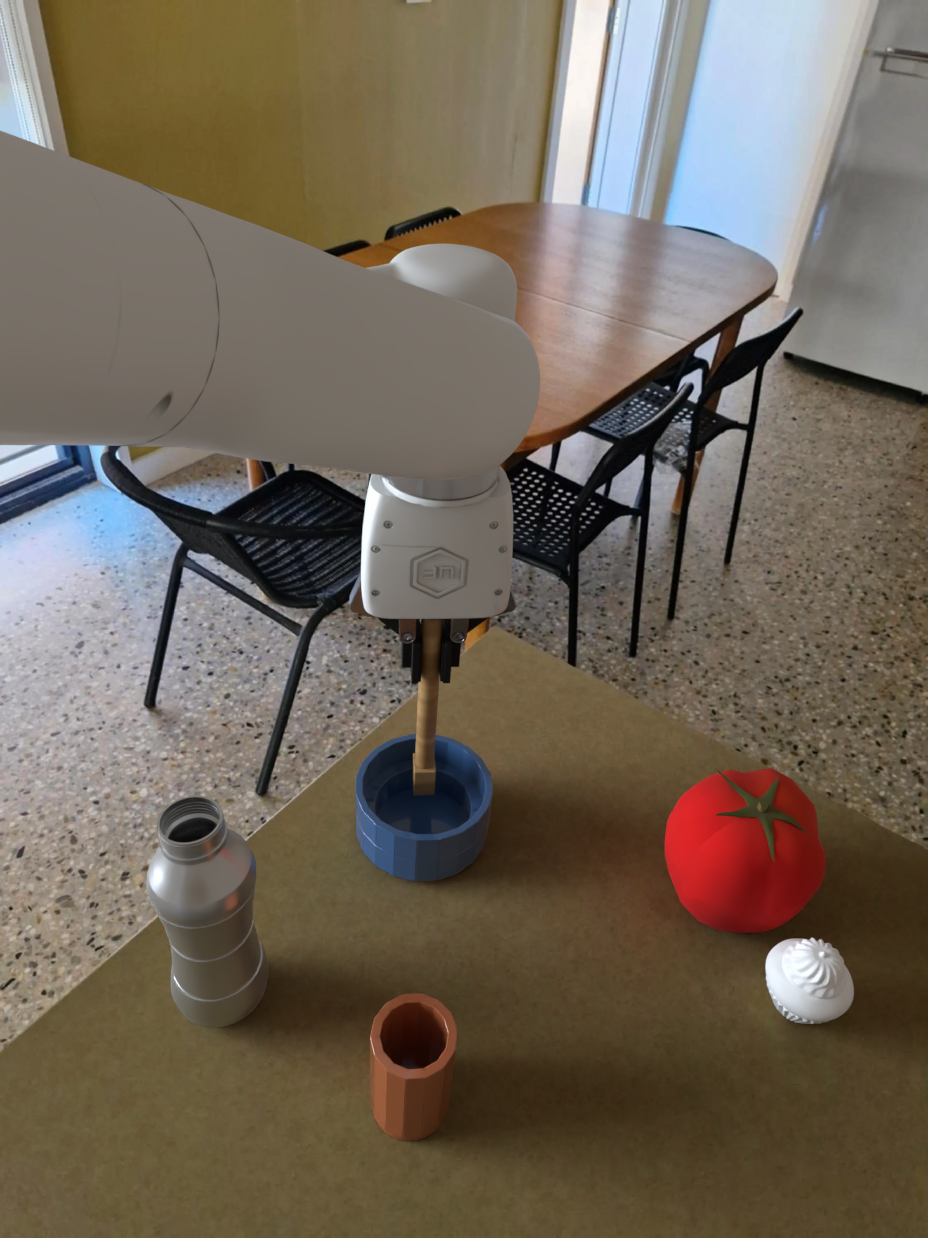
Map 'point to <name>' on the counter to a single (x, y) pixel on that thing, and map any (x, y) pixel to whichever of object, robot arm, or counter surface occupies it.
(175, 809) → the silver metal bottle
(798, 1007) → the muffin
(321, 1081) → the counter surface
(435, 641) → the stirring stick
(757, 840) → the tomato
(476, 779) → the bowl
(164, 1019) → the counter surface
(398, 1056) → the crock
